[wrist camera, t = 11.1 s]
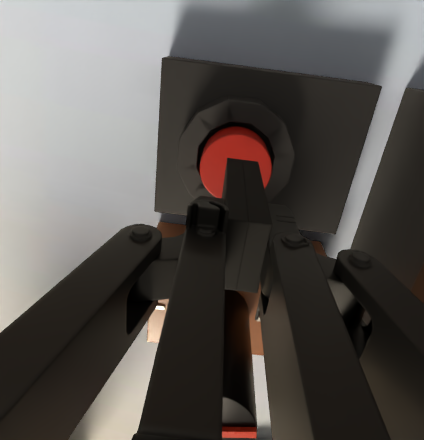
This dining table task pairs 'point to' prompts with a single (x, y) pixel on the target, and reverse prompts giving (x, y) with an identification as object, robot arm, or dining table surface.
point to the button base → (264, 133)
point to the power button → (232, 156)
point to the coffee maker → (398, 200)
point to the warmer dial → (237, 372)
